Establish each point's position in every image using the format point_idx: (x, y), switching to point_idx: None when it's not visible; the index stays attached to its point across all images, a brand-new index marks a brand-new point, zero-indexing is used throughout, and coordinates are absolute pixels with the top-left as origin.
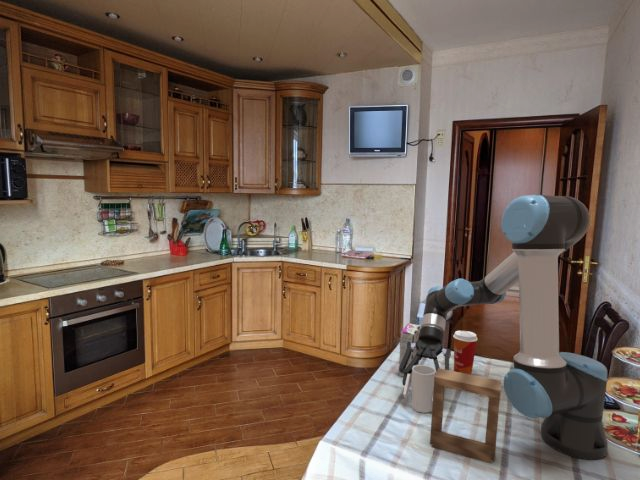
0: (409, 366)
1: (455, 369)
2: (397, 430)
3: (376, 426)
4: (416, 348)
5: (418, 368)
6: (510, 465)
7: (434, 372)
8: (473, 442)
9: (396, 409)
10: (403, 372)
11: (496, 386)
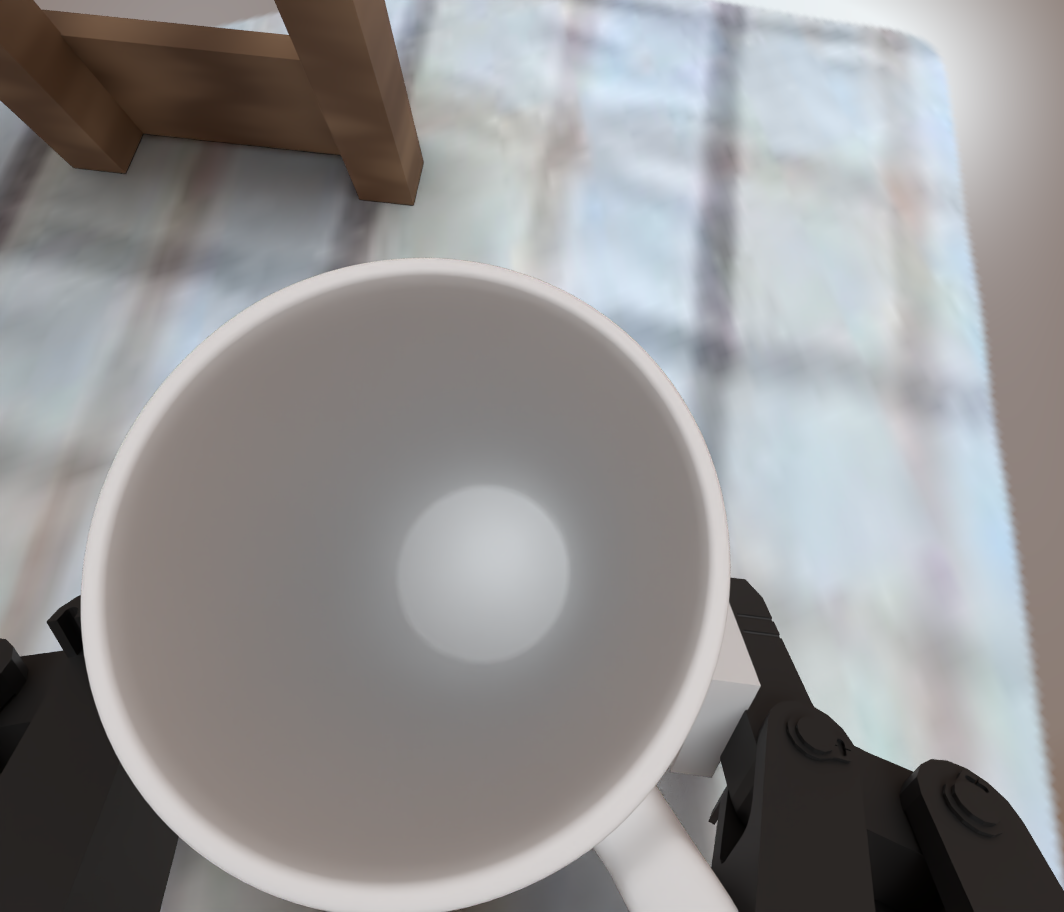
0: (822, 888)
1: None
2: (618, 223)
3: (748, 222)
4: None
5: (572, 771)
6: (16, 124)
7: (134, 425)
8: (136, 21)
9: None
10: (845, 741)
11: None
